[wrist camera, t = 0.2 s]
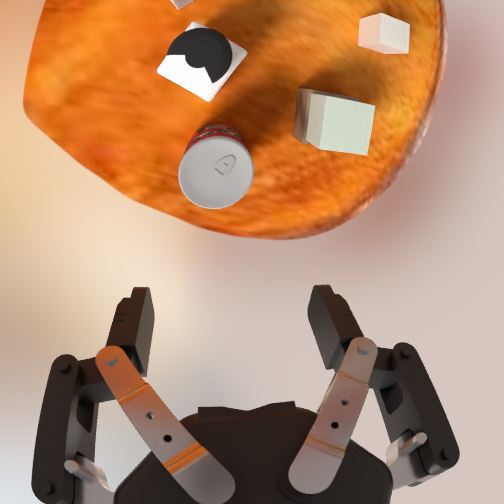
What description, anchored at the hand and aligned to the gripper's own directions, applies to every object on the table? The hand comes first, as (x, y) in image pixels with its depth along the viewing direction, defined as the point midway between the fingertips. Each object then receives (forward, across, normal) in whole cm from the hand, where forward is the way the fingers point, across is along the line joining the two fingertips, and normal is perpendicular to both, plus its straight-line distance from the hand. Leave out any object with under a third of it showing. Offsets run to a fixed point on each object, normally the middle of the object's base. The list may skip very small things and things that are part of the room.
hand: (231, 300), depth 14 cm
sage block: (+24, -13, -6) cm, 28 cm away
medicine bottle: (+29, +3, -12) cm, 32 cm away
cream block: (+29, -20, -20) cm, 41 cm away
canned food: (+29, 0, 0) cm, 29 cm away
